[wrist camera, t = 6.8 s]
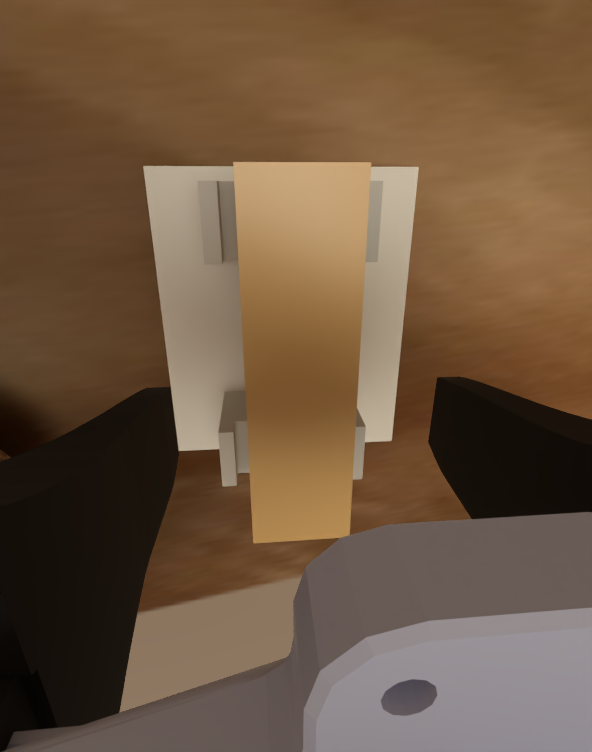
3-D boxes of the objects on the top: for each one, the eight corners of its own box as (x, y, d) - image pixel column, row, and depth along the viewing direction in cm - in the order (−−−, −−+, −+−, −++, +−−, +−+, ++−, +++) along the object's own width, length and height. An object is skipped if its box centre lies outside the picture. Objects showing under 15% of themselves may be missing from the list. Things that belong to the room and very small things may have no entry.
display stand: (181, 440, 23) (163, 501, 18) (149, 167, 18) (113, 159, 13) (386, 431, 24) (416, 487, 19) (410, 167, 19) (459, 160, 14)
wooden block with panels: (253, 469, 19) (253, 543, 15) (239, 169, 15) (233, 161, 11) (330, 465, 20) (350, 537, 15) (341, 170, 15) (373, 162, 11)
